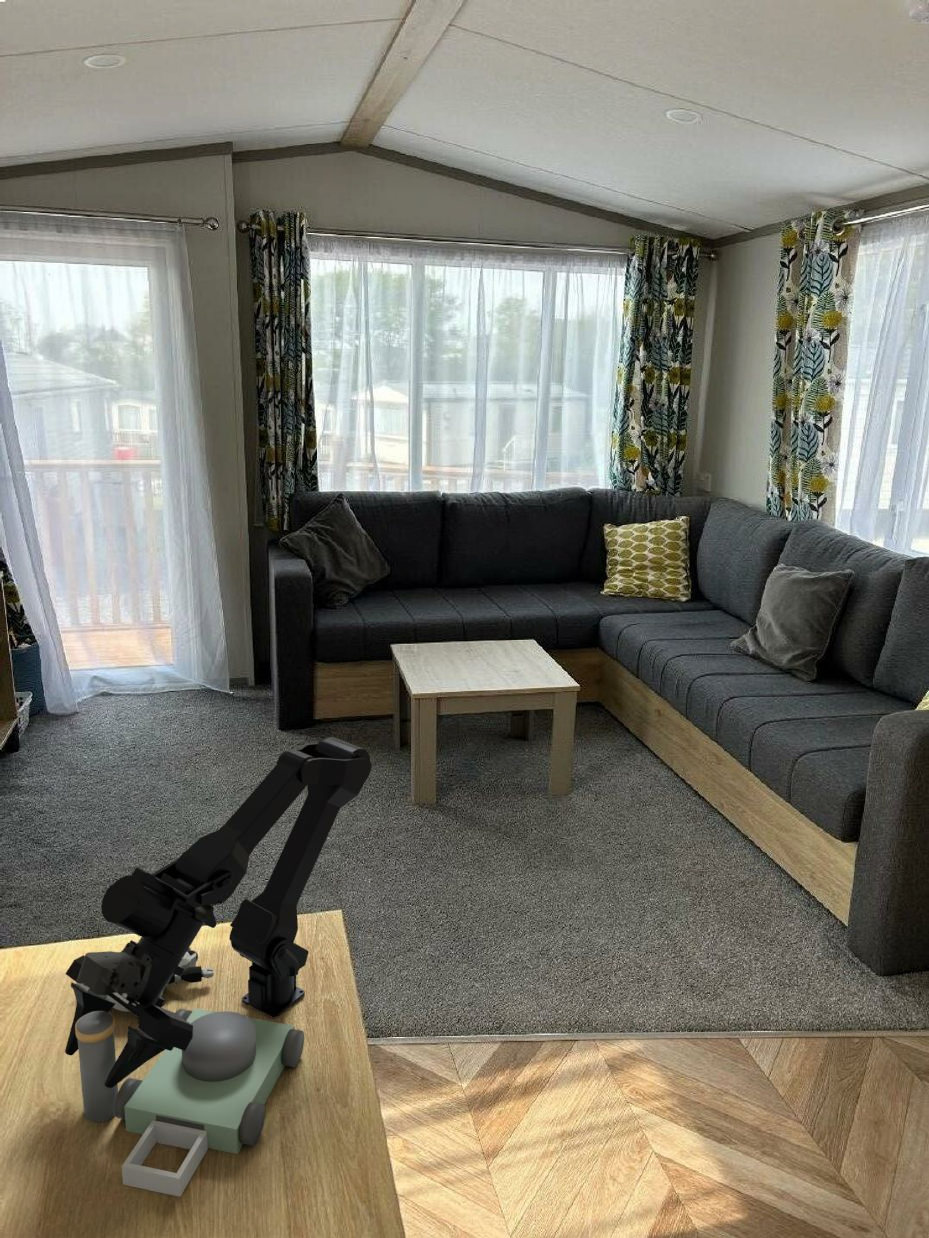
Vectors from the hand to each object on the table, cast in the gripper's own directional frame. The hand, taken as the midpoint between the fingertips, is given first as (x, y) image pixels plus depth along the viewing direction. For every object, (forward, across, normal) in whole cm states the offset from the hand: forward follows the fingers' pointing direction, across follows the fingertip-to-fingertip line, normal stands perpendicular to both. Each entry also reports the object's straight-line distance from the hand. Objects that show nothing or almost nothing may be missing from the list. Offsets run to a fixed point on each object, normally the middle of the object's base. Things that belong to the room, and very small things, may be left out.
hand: (87, 1070), depth 116 cm
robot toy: (-8, -15, +18) cm, 25 cm away
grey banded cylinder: (+4, 0, +6) cm, 7 cm away
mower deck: (-2, +9, +11) cm, 15 cm away
